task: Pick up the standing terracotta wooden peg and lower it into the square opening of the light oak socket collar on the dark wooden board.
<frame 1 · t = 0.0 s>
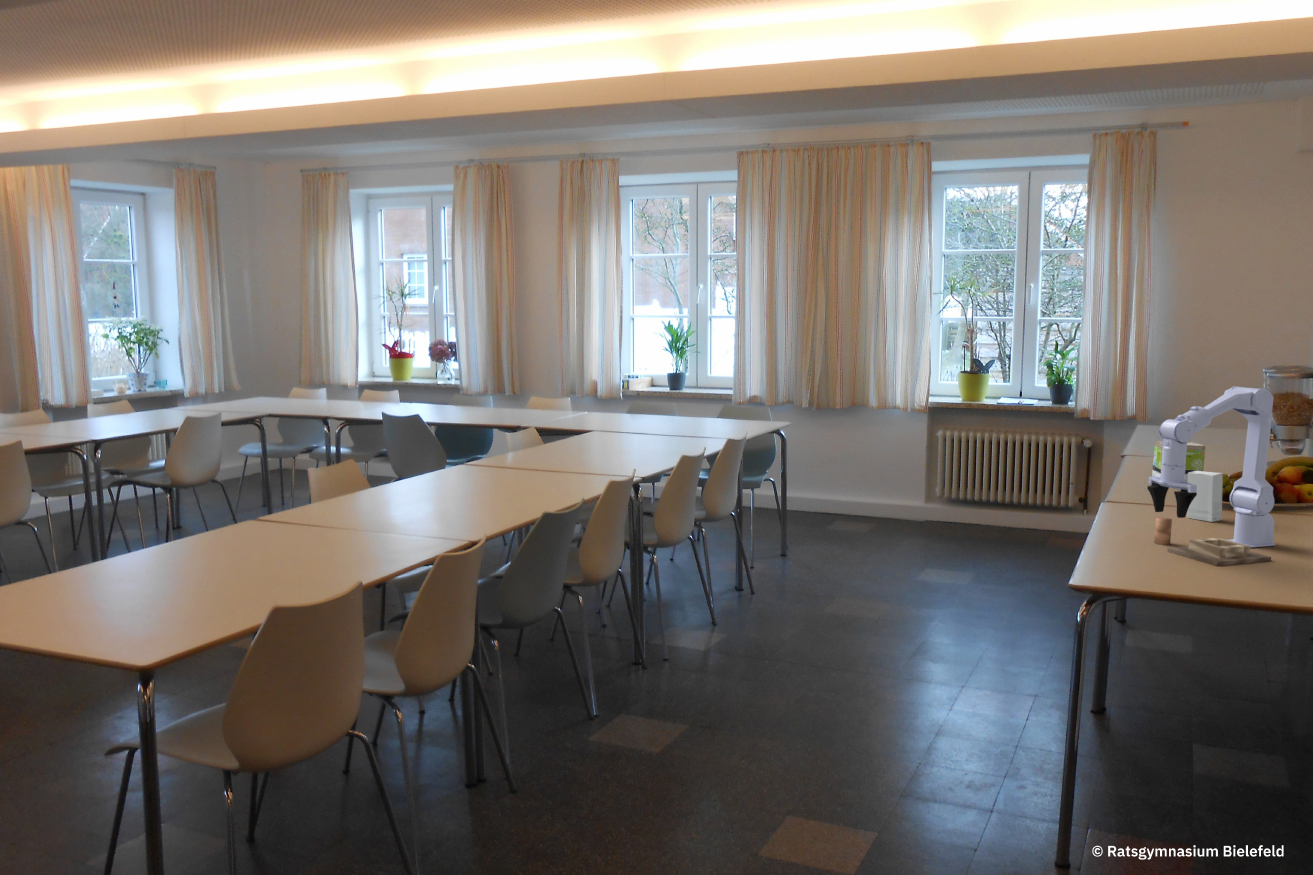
hand: (1169, 514, 268), 10 cm above the table, tool pointing down, fingers open, 7 cm apart
peg: (1162, 543, 279), on the table
skincare box: (1202, 519, 311), on the table
tea box: (1176, 481, 379), on the table
socket: (1218, 555, 265), on the table
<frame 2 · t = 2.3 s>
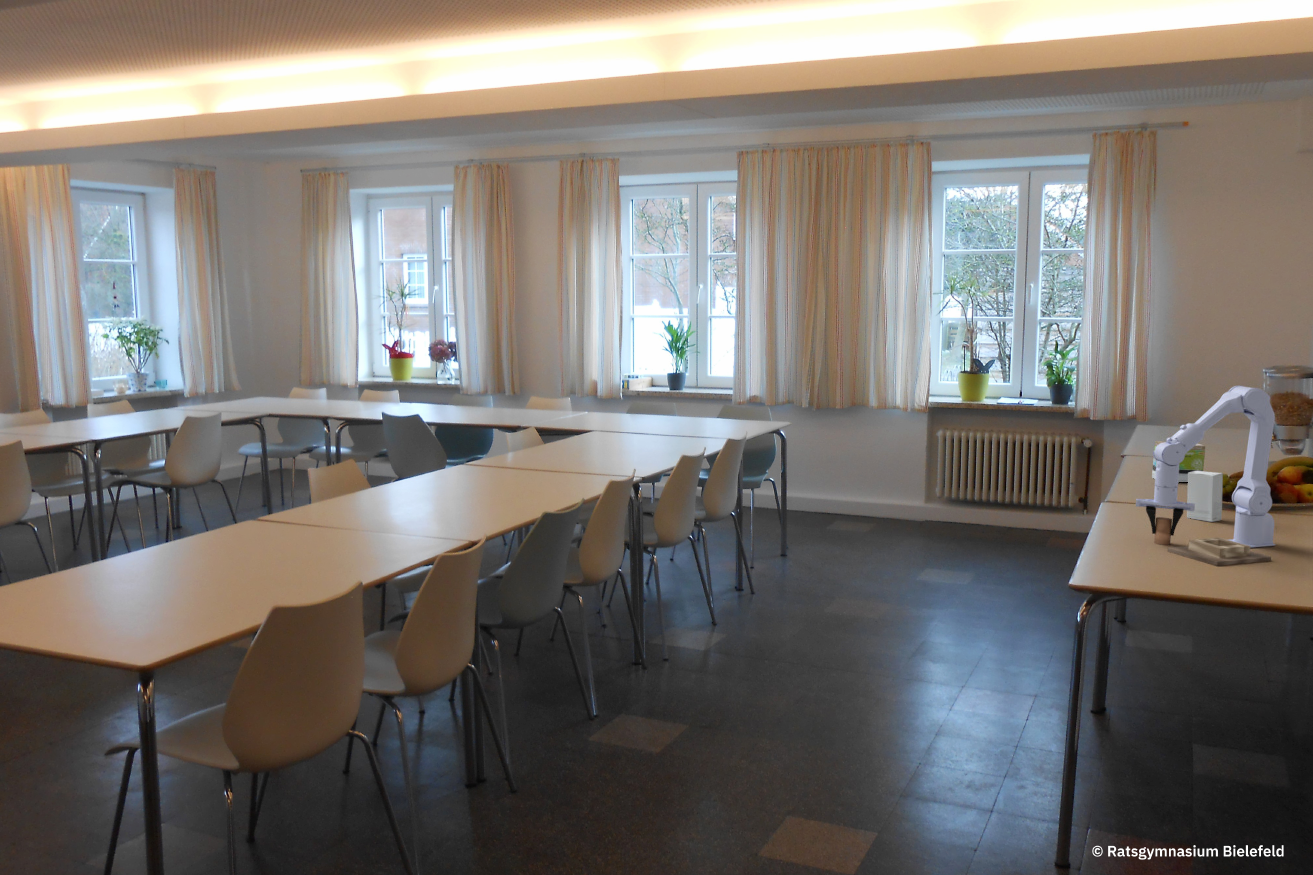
hand: (1162, 533, 279), 3 cm above the table, tool pointing down, fingers closed on peg, 4 cm apart
peg: (1162, 543, 279), on the table, touching gripper
everything else where it was.
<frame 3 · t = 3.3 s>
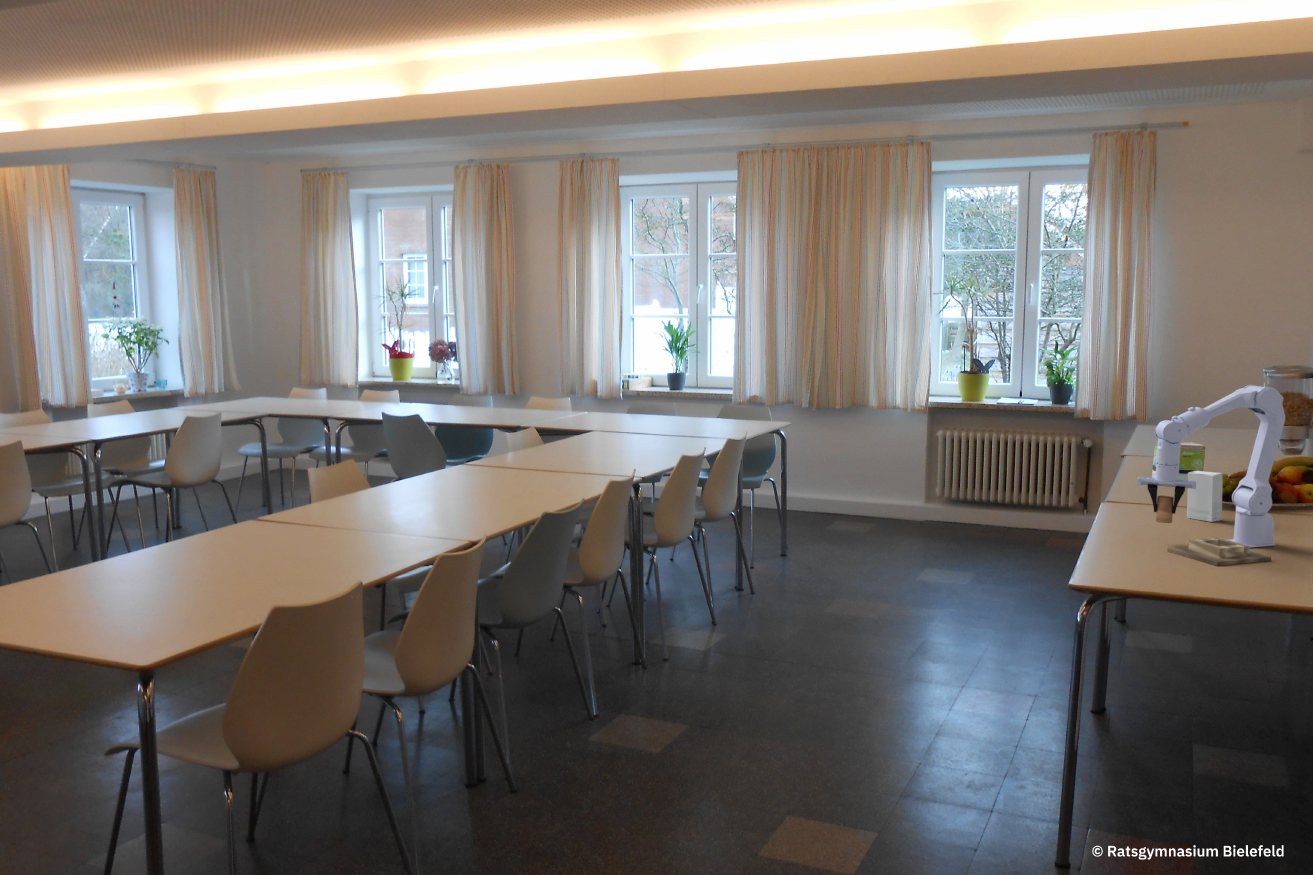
hand: (1164, 512, 278), 9 cm above the table, tool pointing down, fingers closed on peg, 4 cm apart
peg: (1163, 521, 278), point 6 cm above the table, touching gripper
everything else where it was.
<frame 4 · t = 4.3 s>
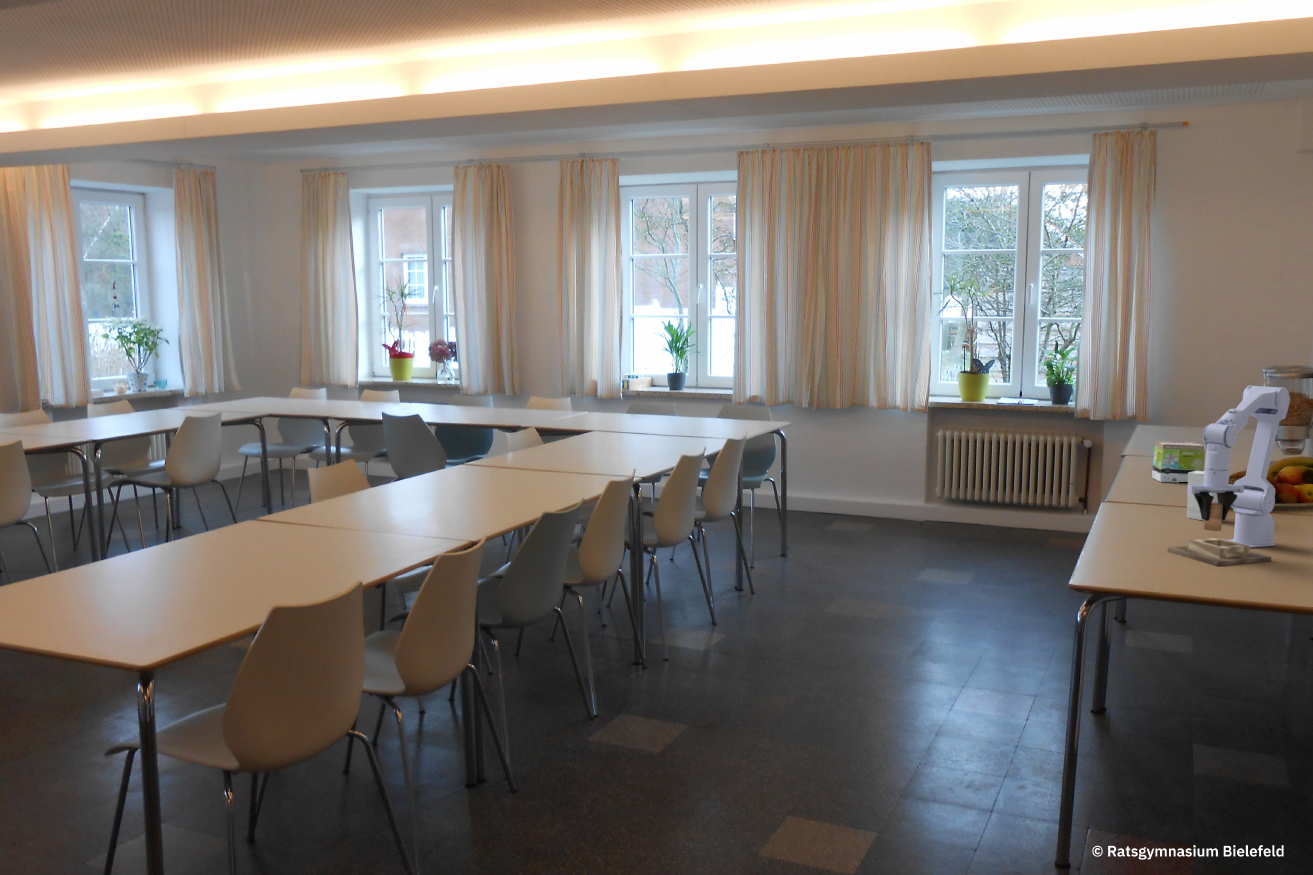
hand: (1213, 519, 265), 9 cm above the table, tool pointing down, fingers closed on peg, 4 cm apart
peg: (1212, 529, 266), point 7 cm above the table, touching gripper
everything else where it was.
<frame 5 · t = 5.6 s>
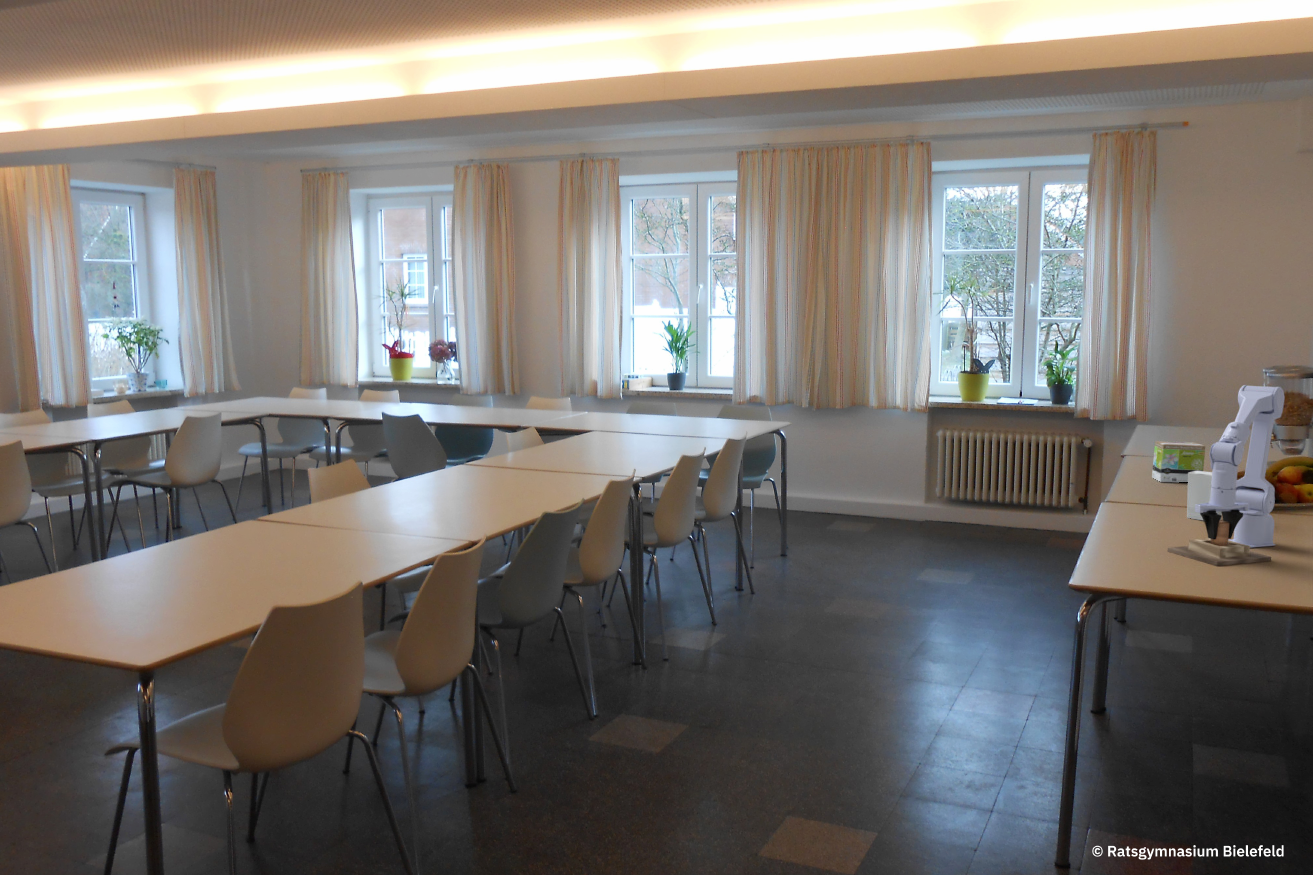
hand: (1219, 538, 264), 5 cm above the table, tool pointing down, fingers closed on peg, 4 cm apart
peg: (1218, 547, 264), point 2 cm above the table, touching gripper
everything else where it was.
when the fingers open (5 cm above the table, at t = 6.5 s): peg stays where it is, resting on socket.
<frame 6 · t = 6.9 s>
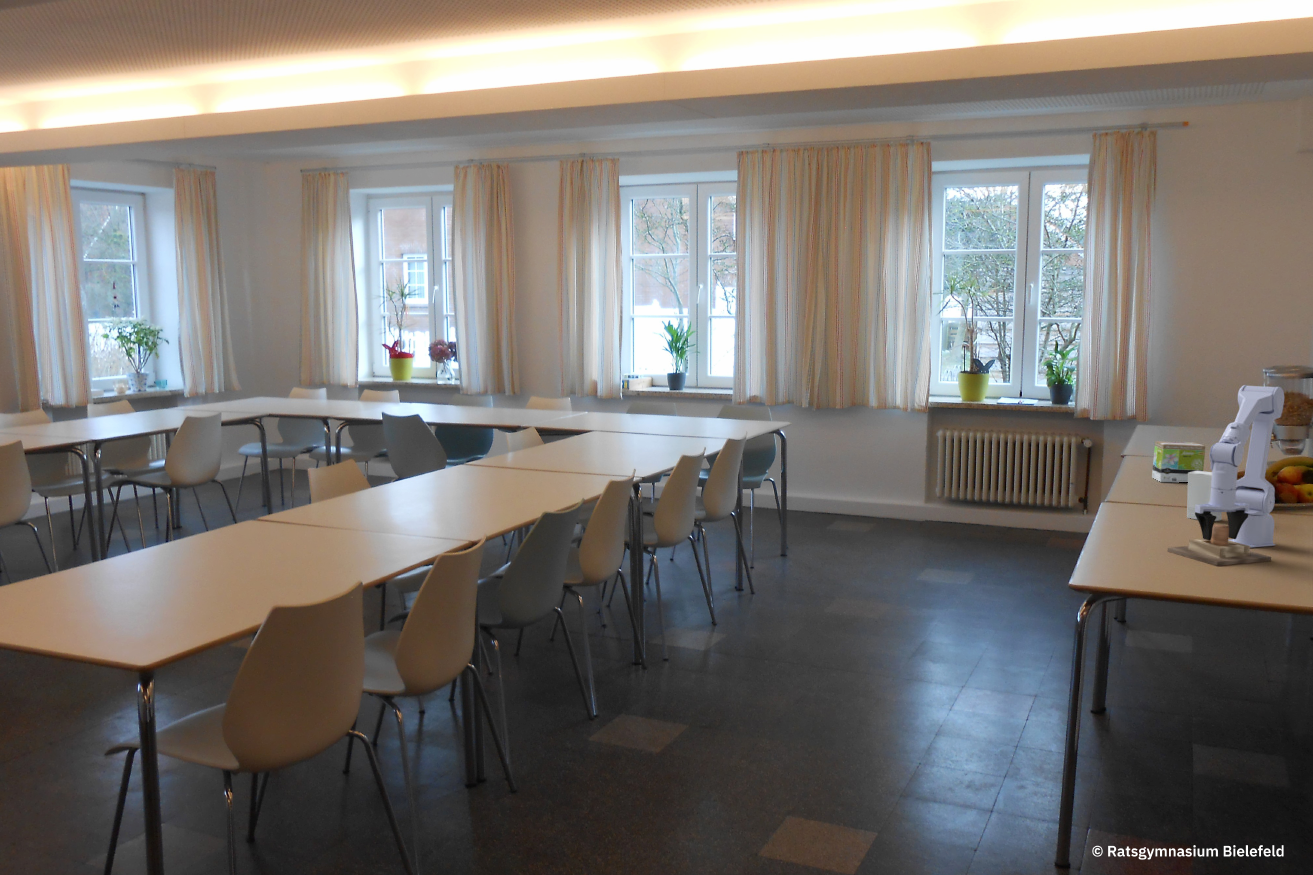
hand: (1219, 538, 264), 5 cm above the table, tool pointing down, fingers open, 7 cm apart
peg: (1218, 552, 265), point 1 cm above the table, touching socket
everything else where it was.
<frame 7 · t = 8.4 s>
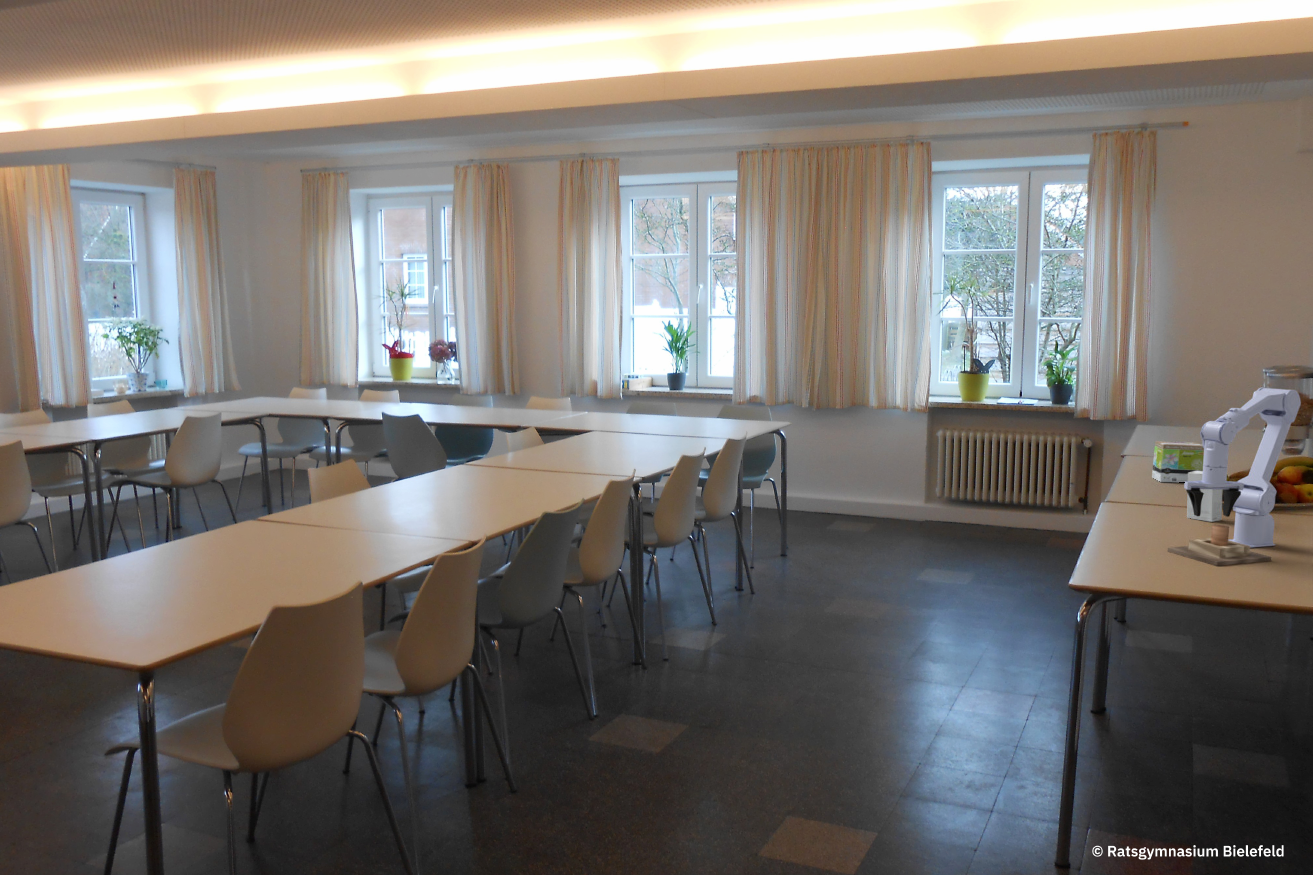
hand: (1211, 515, 270), 10 cm above the table, tool pointing down, fingers open, 7 cm apart
nothing on the table moved.
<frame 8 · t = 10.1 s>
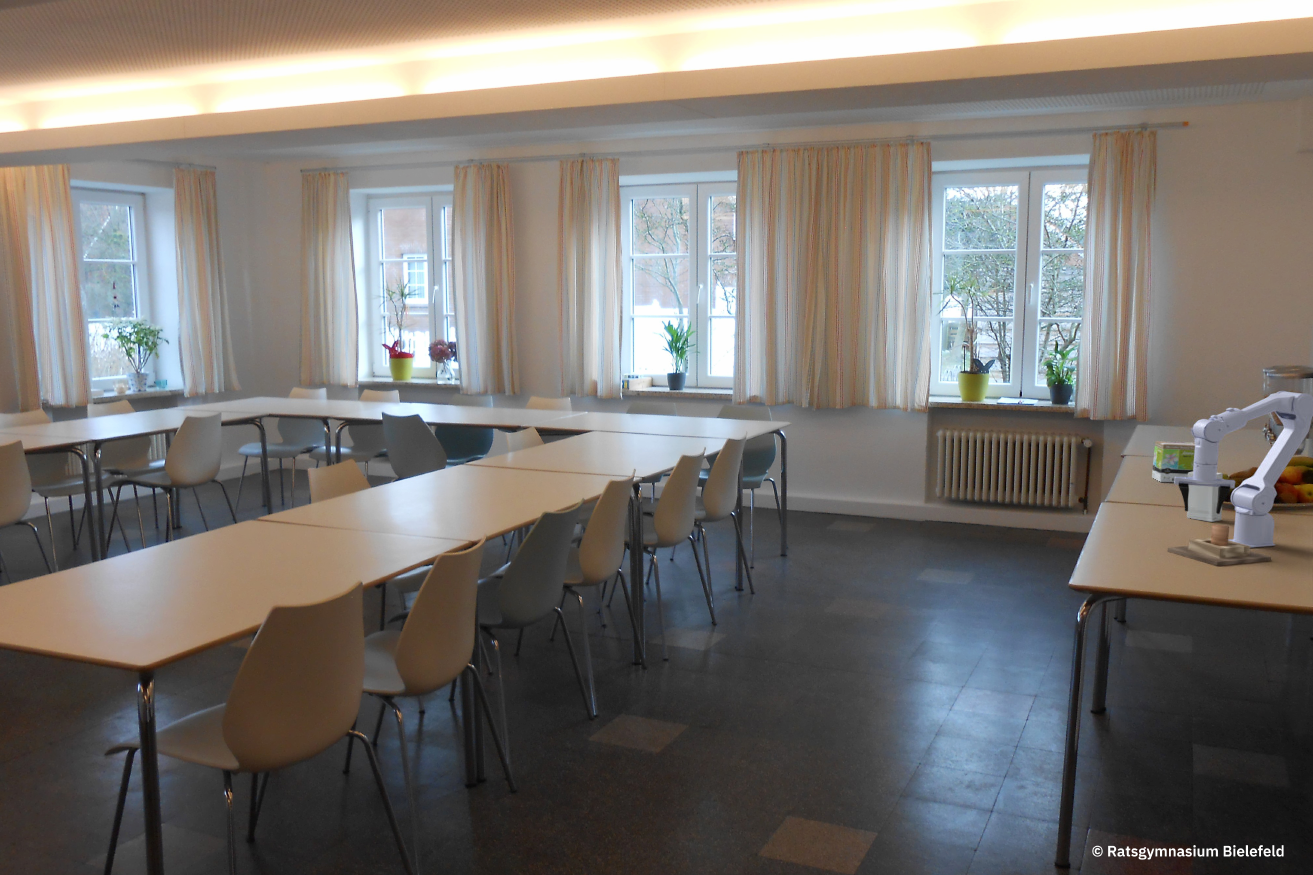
hand: (1202, 511, 275), 9 cm above the table, tool pointing down, fingers open, 7 cm apart
nothing on the table moved.
at the end: peg 0.0 cm off-centre on the socket, point 1.0 cm above the socket's base; peg tilted 0°; the gripper is holding nothing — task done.
